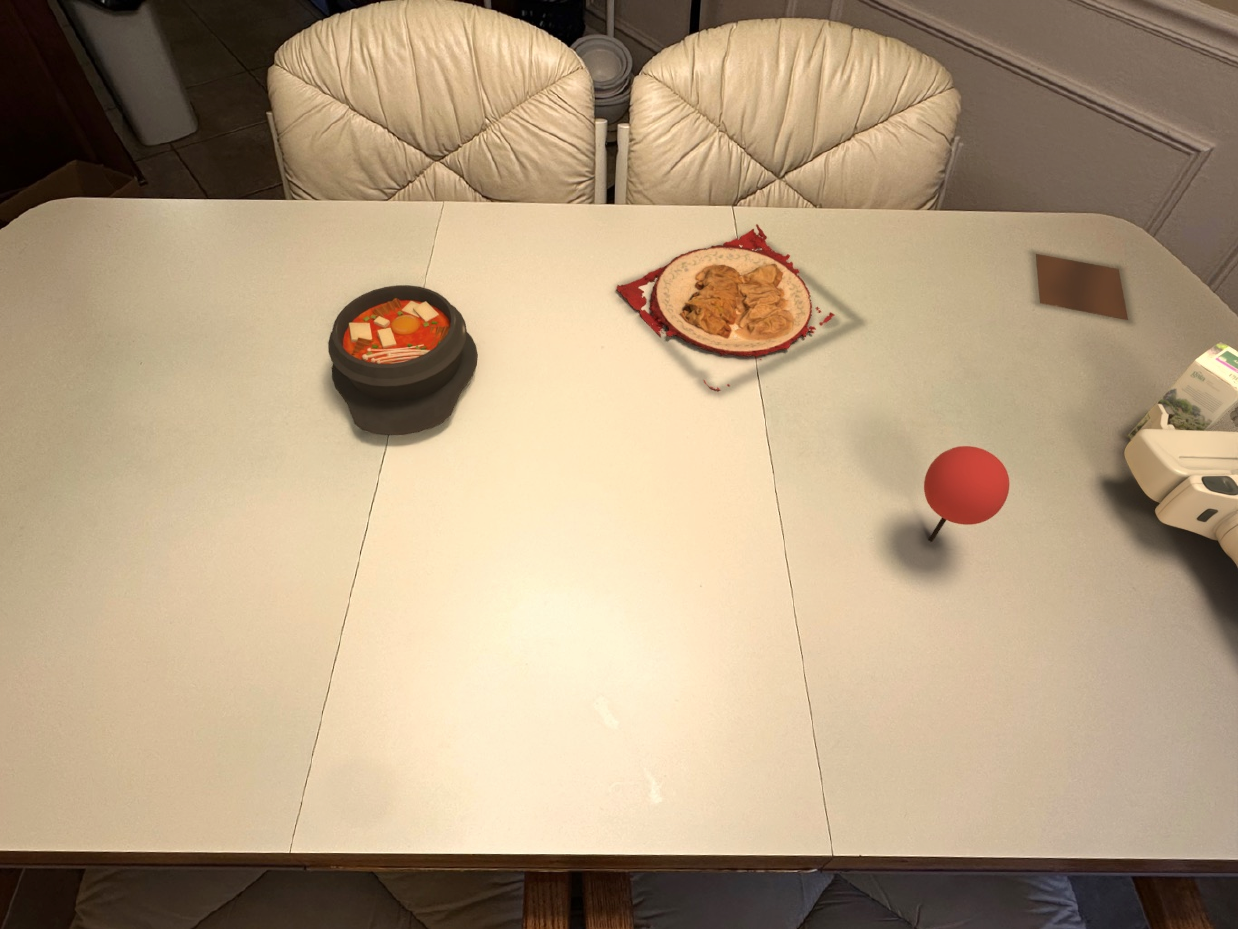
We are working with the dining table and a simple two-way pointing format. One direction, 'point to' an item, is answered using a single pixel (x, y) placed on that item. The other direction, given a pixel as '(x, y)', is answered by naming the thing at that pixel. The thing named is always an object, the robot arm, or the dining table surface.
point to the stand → (1080, 286)
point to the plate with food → (728, 298)
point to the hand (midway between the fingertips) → (1198, 408)
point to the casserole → (400, 359)
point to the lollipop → (966, 486)
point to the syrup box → (1201, 392)
